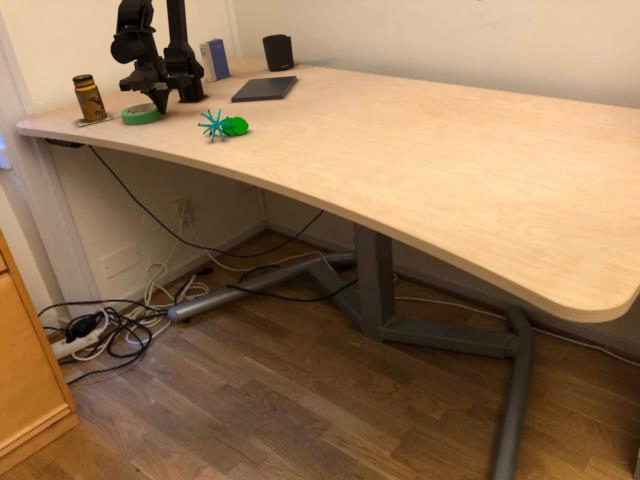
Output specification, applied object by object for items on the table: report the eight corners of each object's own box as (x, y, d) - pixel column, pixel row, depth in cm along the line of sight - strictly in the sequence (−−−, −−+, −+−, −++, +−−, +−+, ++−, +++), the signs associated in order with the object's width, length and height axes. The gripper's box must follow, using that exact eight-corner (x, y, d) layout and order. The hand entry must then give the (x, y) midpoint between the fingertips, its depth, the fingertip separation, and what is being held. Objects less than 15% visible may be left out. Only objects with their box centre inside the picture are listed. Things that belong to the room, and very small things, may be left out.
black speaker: (264, 72, 195) (258, 41, 190) (272, 65, 203) (267, 35, 197) (291, 70, 193) (286, 39, 188) (298, 64, 201) (293, 33, 196)
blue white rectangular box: (225, 75, 197) (216, 37, 191) (230, 75, 196) (222, 38, 189) (206, 81, 192) (197, 42, 186) (211, 81, 191) (203, 43, 184)
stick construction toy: (202, 137, 135) (198, 105, 135) (195, 148, 141) (191, 117, 141) (252, 139, 140) (248, 108, 141) (243, 150, 146) (239, 120, 147)
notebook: (297, 79, 182) (296, 75, 182) (282, 99, 165) (282, 94, 164) (250, 83, 184) (249, 79, 184) (231, 102, 167) (230, 98, 166)
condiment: (111, 119, 164) (97, 75, 158) (80, 126, 160) (64, 82, 154) (105, 114, 169) (91, 71, 163) (75, 121, 166) (59, 78, 159)
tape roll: (132, 127, 155) (129, 117, 153) (117, 120, 162) (114, 111, 161) (171, 116, 161) (168, 106, 159) (154, 109, 168) (152, 100, 167)
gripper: (97, 64, 147) (117, 124, 155) (161, 60, 142) (178, 123, 150) (123, 53, 156) (140, 111, 164) (184, 50, 151) (199, 110, 159)
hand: (163, 114), depth 159 cm, fingers closed
